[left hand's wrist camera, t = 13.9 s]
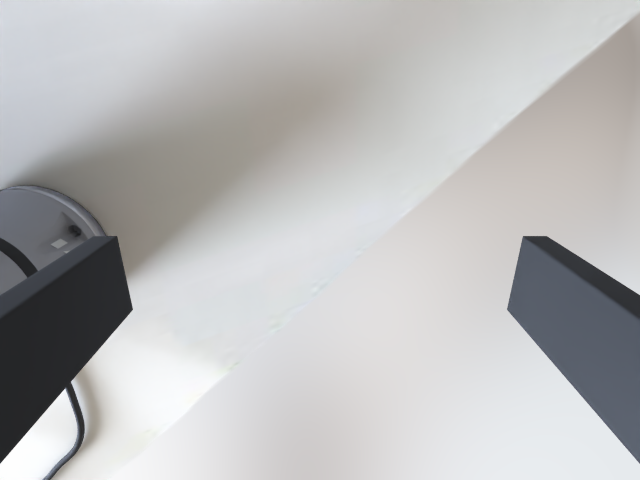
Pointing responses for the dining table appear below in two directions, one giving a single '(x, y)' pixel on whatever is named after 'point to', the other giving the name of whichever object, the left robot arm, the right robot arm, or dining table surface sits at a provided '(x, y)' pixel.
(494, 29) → the dining table surface
